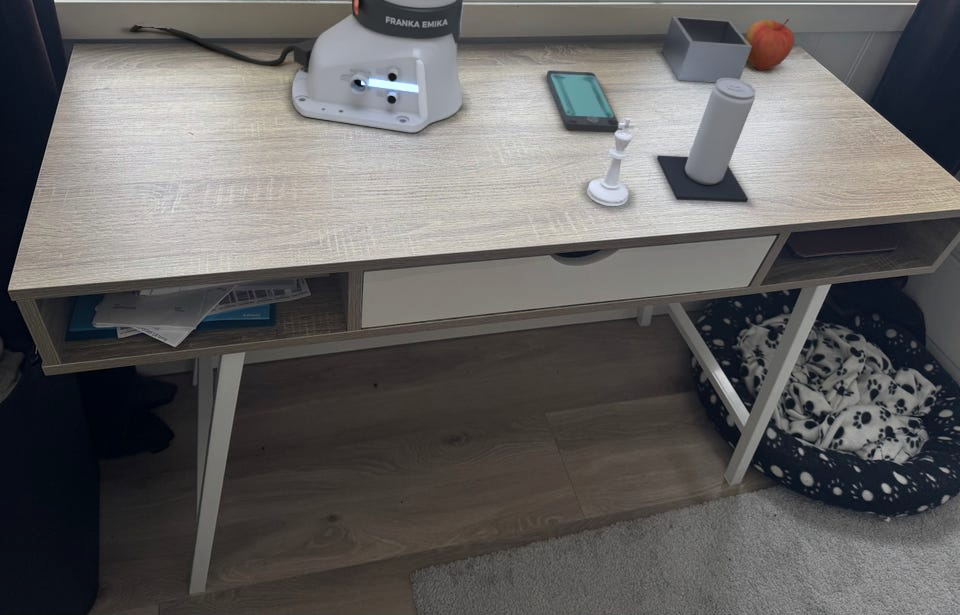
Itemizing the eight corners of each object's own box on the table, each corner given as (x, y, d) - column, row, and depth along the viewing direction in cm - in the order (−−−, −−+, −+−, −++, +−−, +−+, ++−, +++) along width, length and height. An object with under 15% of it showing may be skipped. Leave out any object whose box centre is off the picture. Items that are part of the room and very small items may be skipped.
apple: (732, 53, 122) (749, 5, 116) (775, 59, 122) (794, 11, 117) (742, 73, 116) (761, 24, 111) (787, 79, 117) (808, 30, 111)
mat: (676, 199, 88) (677, 196, 88) (656, 158, 95) (657, 155, 94) (746, 202, 89) (748, 199, 89) (722, 161, 96) (724, 158, 95)
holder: (678, 80, 112) (690, 42, 108) (661, 52, 119) (672, 15, 115) (738, 84, 113) (752, 46, 109) (717, 56, 120) (730, 19, 116)
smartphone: (568, 122, 96) (546, 68, 107) (566, 130, 97) (545, 76, 108) (621, 124, 98) (595, 71, 108) (619, 132, 98) (593, 79, 109)
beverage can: (722, 190, 90) (758, 100, 82) (683, 182, 90) (715, 92, 82) (721, 169, 93) (755, 82, 85) (683, 162, 94) (714, 73, 85)
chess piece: (583, 181, 89) (601, 106, 82) (622, 183, 89) (644, 109, 82) (591, 205, 85) (611, 129, 78) (631, 207, 86) (655, 131, 79)
